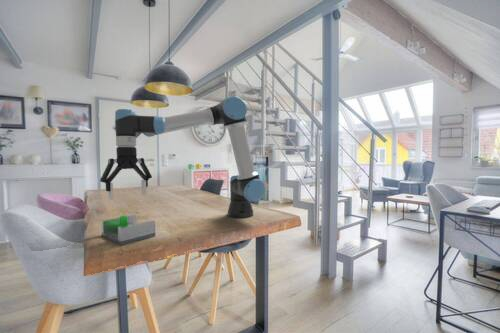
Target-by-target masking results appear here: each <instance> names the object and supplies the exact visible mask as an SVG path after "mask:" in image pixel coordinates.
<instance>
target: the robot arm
mask: <svg viewBox="0 0 500 333" xmlns="http://www.w3.org/2000/svg"><path fill="white" fill-rule="evenodd" d="M247 106H248V105H247V104H246V101H244V100H243V99H242V98H241V97H239V96H236V95H235V96H234V95H233V96H229V97H227V98H225V99H224V100H223V101H221V102H220V103H217V104H216V105H213V106H210V107H209V106H208V107H207V108H206V109H205V110H204V109H203V110H197V111H193V112H188V113H187V112H186V113H182V114H177V115H176V114H175V115H171V116H170V115H169V116H164V117H163V116H157V115H153V116H152V115H137V114H136V111H135V110H133V109H127V108H119V109H117V110H115V112H114V113H115V114H114V116H115V117H114V126H115V127H114V128H115V145H116V146H117V147H116V158H108V161H107V165H106V167H105V170H104V171H103V174H102V175H101V177H100V179H99V181H100V182H101V183H104V184H105V191H106V192H108V200H111V201H114V183H113V182H112V181H113V180H114V179H115V178H116V176H117V175H118V174H119V173H120V172H121V171H122V170H127V169H129V170H134V171H135V173H137V174H138V175H139V177H141V195H142V196H146V195H147V188H148V187H149V180H150V179H152V177H153V176H152V174H151V172H150V170H149V169H148V166H147V165H146V163H145V159H144V157H140V158H138V157H137V156H138V154H137V147H136V146H137V134H143V135H144V136H146V137H148V138H152V137H155V136H156V135H157V136H158V135H161V134H167V133H171V132H176V131H181V130H182V131H183V130H186V129H190V128H195V127H200V126H201V127H202V126H206V125H210V126H216V125H223V127H224V128H225V129H227V131H228V136H229V138H230V144H231V148H232V151H233V156H234V160H235V164H236V168H237V172H238V175H237V174H236V175H232V176H231V177H230V180H229V186H230V187H229V188H230V202H229V205H228V209H227V216H228V217H230V218H239V219H240V218H248V217H252V216H253V215H254V209H253V206H252V202H257V201H260V200H261V199H262V198H263V197H264V194H265V192H266V185H265V183H264V182H263V181H262V179H260V175H259V172H257V171H256V170H255V166H254V162H253V159H252V157H253V156H252V153H251V149H250V144H249V140H248V135H247V132H246V127H245V125H247V124H246V123H247V118H246V116H247V113H248V107H247ZM137 163H139V165H137ZM115 164H117V166H116V167H115V169H114V170H113V171H112V169H113V167H114V165H115ZM139 166H140V167H141V168H140V167H139ZM141 169H142V170H141ZM111 171H112V172H111Z"/></svg>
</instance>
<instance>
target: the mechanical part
mask: <svg viewBox="0 0 500 333" xmlns="http://www.w3.org/2000/svg"><path fill="white" fill-rule="evenodd" d="M127 216H128V215H121V216H119V217H120V226H118V227H123V226H128V225H132V224H128V225H127Z"/></svg>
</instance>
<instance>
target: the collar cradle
mask: <svg viewBox="0 0 500 333" xmlns="http://www.w3.org/2000/svg"><path fill="white" fill-rule="evenodd" d="M126 216H127V225H128V224H132V225H128V226H123V227H118V226H120V216H119V217H113V218H108V219H102V220H101V223H100V224H101V236H102V237H103V238H106V239H108V240H109V239H110V240H109V241H112V242H113V243H115V244H117V245H119V246H124V245H127V244H131V243H135V242H139V241H142V240H146V239H149V238H154V237H156V220H152V219H151V220H148V221H141V222H137V214H135V213H134V214H129V215H126Z"/></svg>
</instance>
